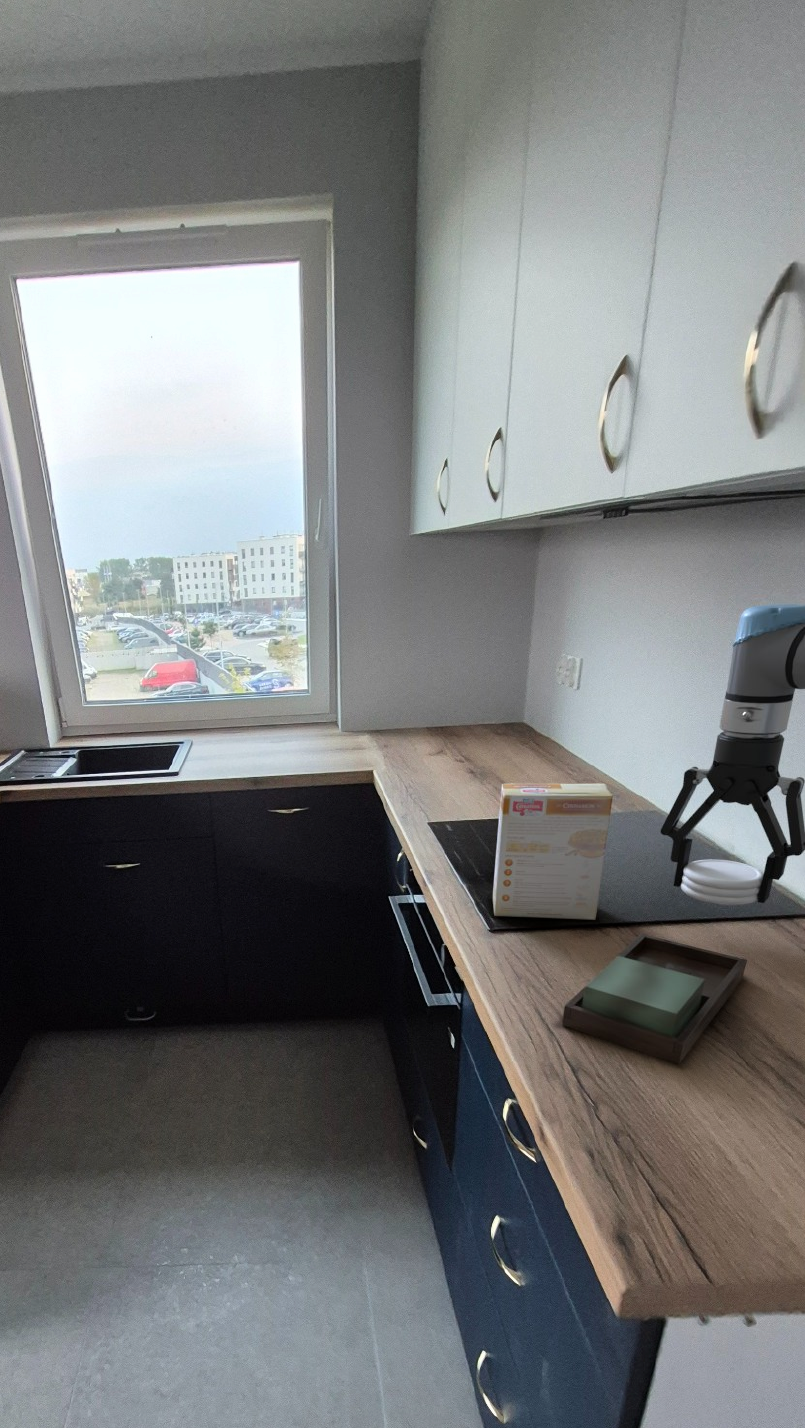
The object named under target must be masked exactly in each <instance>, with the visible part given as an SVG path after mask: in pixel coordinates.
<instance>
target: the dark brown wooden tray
mask: <svg viewBox="0 0 805 1428" xmlns="http://www.w3.org/2000/svg"><path fill="white" fill-rule="evenodd" d="M747 963H748V959H746V958H742V957H737V956H734V955H729V954H725V953H721V952H718V951H713V950H709V949H705V948H702V947H697V946H692V945H689V944H686V943H685V944H684V943H681V942H677V941H672V940H669V939H665V938H661V937H657V936H653V935H650V934H649V935H648V934H645V933H640V934H639V935H638V936H637V937H636V938H635V939H634V940H633V941H631V943H630V944H629V945H627V947H625V948H624V949H623V951H621V952H620V953H619V954H618V955H617V956H616V957H615V958H613V960H612V961H610V962H609V963H608V964H607V965H606V966H605V967H603V969H602V970H601V971H600V972H599V973H598V974H596V976H595V977H593V978H592V979H591V980H590V981H589V982H588V983H587V984H586V985H585V986H584V987H583V988H582V989H581V990H580V991H579V992H577V994H575V996H574V997H572V998H571V999H569V1001H568V1002H566V1004H565V1005H564V1008H563V1016H562V1022H561V1025H562V1026H563V1027H567V1028H570V1029H572V1030H576V1031H577V1032H581V1033H585V1034H587V1035H590V1036H593V1037H596V1038H599V1039H602V1040H604V1041H608V1042H610V1043H614V1044H617V1045H619V1046H622V1047H625V1048H628V1049H632V1050H634V1051H637V1052H640V1053H644V1054H647V1055H649V1056H653V1057H655V1058H659V1059H661V1060H664V1061H667V1062H670V1063H673V1064H676V1065H680V1063H681V1062H682V1061H683V1060H684V1059H685V1057H686V1056H687V1054H688V1052H690V1050H691V1049H692V1048H693V1046H694V1045H695V1043H696V1042H697V1041H698V1039H699V1038H700V1037H701V1035H703V1033H704V1031H705V1030H706V1028H707V1027H708V1026H709V1025H710V1023H711V1022H712V1021H713V1019H714V1018H715V1017H716V1015H717V1014H718V1013H719V1011H720V1009H721V1008H722V1007H723V1006H724V1004H725V1003H726V1001H727V1000H728V999H729V998H730V996H731V995H732V993H733V992H734V991H735V990H736V989H737V987H738V985H739V984H740V983H741V982H742V980H743V979H744V975H745V970H746V967H747Z"/></svg>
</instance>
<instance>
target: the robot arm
mask: <svg viewBox="0 0 805 1428" xmlns="http://www.w3.org/2000/svg"><path fill="white" fill-rule="evenodd" d="M731 654H732V655H731V661H730V667H729V674H728V681H727V686H726V691H725V695H724V699H723V704H722V710H721V715H720V719H719V720H720V721H719V729H720V730H721V731H722V732H720V733H719V734H718V735H717V737H716V743H715V748H714V753H713V760H712V764H711V766H710V767H709V768H708V769H707V768H699V767H697V766H691V767H690V768H689V769H686V771H684V773H683V781H682V787H681V789H680V791H679V793H678V795H677V797H676V799H675V801H674V803H673V805H672V807H671V808H670V811H669V812H668V814H667V816H666V818H665V820H664V822H663V825H662V826H661V828H660V834H661V835H663V836H667V837H669V838H671V839H672V847H671V852H670V853H671V854H670V861H671V862H672V863H676V867H675V874H674V880H673V887H677V888H679V887H680V888H681V883H682V876H683V874H684V872H683V869H684V867H685V866H686V865H687V864H689V863H690V862H689V861H690V855H691V851H692V850H691V849H692V845H693V840H694V839H693V838H688V836H689V834H691V832H692V831H693V830H694V829H695V828H696V827H697V826H698V824H700V822H702V820H703V819H704V818H705V817H706V816H707V815H708V814H709V812H711V810H712V809H714V807H715V806H716V805H717V804H718V803H719V802H720V801H722V803H725V804H734V803H736V804H738V805H742V806H750V805H751V806H752V809H753V811H754V812H755V813H756V815H757V817H758V819H759V821H760V824H761V826H762V828H763V831H764V832H765V835H766V837H767V840H768V842H769V844H770V847H771V849H772V851H771V852H770V853H769V855H768V856H766V861H765V866H764V871H763V874H764V875H763V879H762V884H761V888H760V893H759V898H758V900H757V903H759V904H765V903H766V901H768V899H769V898H770V894H771V890H772V885H773V881H774V880H776V881H779V880H780V879H781V878H782V876H783V875H784V874H785V870H786V864H787V861H788V857H790V856H795V857H798V856H801V855H802V854H803V853H804V852H805V819H804V811H803V803H802V793H803V789H804V786H805V779H804V777H801V776H797V777H796V778H792V777H785V776H781V773H780V771H779V766H780V761H781V757H782V751H783V747H784V742H785V737H784V735H783V734H782V733H784V732H786V731H787V729H788V724H789V720H790V715H791V711H792V707H793V700H794V695H795V692H796V690H805V604H765V605H756V606H750V607H748V608H746V609H745V610H744V611H743V612H742V613H741V615H740V617H739V622H738V626H737V630H736V634H735V637H734V641H733V643H732V653H731ZM704 779H707V781H708V783H709V785H710V786H711V788H712V790H713V791H712V792H711V793H710V794H709V795H708V797H707V798H706V799H705V800H704V801H703V802H702V804H701V805H700V806H699V807H698V808H697V809H696V810H695V811H694V812H693V814H692V815H690V817H689V818H688V819H687V820H686V821H685V822H684V823H683V824H682V825H681V827H678V826H677V825H678V824H679V821H680V820H681V818H682V816H683V814H684V812H685V810H686V808H687V806H688V804H689V802H690V800H691V798H692V796H693V795H694V793H695V790H696V789H697V786H699V785H700V784H701V783H703V781H704ZM776 786H778V787H779V788H780V791H781V794H782V795H783V796H785V808H786V816H787V817H786V818H787V825H788V834H789V842H790V843H788V841H787V839H786V836H785V833H784V832H783V829H782V827H781V825H780V822H779V820H778V818H777V815H776V813H775V811H774V808H773V806H772V801H771V799H770V796H769V794H768V793H769V792H771V791H772V790H773V789H774V788H775V787H776Z"/></svg>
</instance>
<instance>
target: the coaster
mask: <svg viewBox="0 0 805 1428" xmlns="http://www.w3.org/2000/svg"><path fill="white" fill-rule="evenodd" d="M683 872H684V874H683V876H682V883H681V886H680V889H681V890H682V892H683V893H684V894H686V896H688V897H690V898H692V899H695V900H696V901H700V902H704V903H709V904H714V905H721V906H745V905H750V904H752V903H755V902H758V898H759V893H760V888H761V884H762V879H763V875H764V872H763V871H761V870H760V869H759V868H757V867H755V866H753V865H751V864H746V863H743V862H739V861H734V860H727V859H713V858H711V859H699V860H694V861H691V862H688V864H687V865H686V866H685V867H684V869H683Z"/></svg>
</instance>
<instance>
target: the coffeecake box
mask: <svg viewBox="0 0 805 1428" xmlns="http://www.w3.org/2000/svg"><path fill="white" fill-rule="evenodd" d="M613 797H614V796H613V794H612V793H611V791H610V790H609V789H608V786H607V785H606V783H502V784H501V790H500V801H499V811H498V827H497V840H496V848H495V849H496V850H495V863H494V876H493V888H492V904H493V914H494V917H517V918H538V919H539V918H540V919H543V918H544V919H563V920H564V919H565V920H590V921H595V920H596V918H597V912H598V906H599V900H600V892H601V884H602V877H603V869H604V862H605V855H606V849H607V841H608V833H609V825H610V819H611V811H612V806H613V805H612V804H613Z"/></svg>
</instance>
